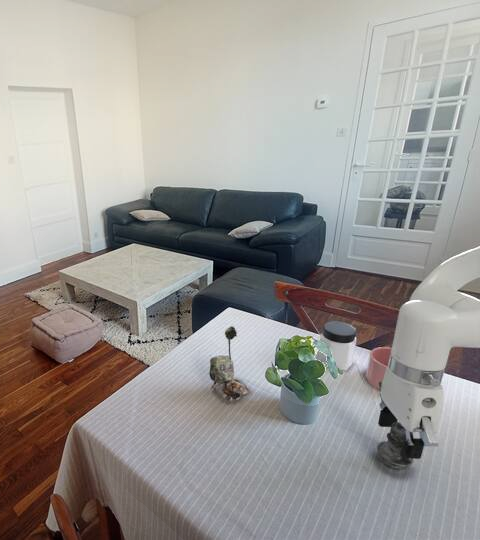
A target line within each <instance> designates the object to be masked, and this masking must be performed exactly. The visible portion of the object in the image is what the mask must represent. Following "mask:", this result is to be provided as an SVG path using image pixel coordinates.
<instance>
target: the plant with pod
mask: <svg viewBox="0 0 480 540" xmlns="http://www.w3.org/2000/svg"><path fill="white" fill-rule="evenodd" d="M237 332H238V331H237V330H236V328H235V326H233V325H231V326H229V327H228V328H226V329H225V331H224V335H225V338H226V339H227V340H228V355H217V356H213V357H211V355H209V357H211V358H210V359H209V364H210V365H209V372H208V374H209V378H210V380H211V381H213V384H212V385H211V388H210V392H209V395H212V393H213V391H214V390H219V387H221V388H220V390H221V394H222V395H223V398H224V400H226V401H227V402H233V401H239V400H240V399H241V398H242V396H245V394H247V393H248V394H249V389H248V388H247V385H245V384H243V383H241V382H240V380H239V379H234V378H235V367H234V366H235V365H234V360H233V358H232V356H231V341H232V340H234V338H237V337H238V335H237V334H238V333H237ZM217 384H218V385H217ZM216 385H217V386H216ZM222 387H223V388H222Z"/></svg>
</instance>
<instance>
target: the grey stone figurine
mask: <svg viewBox="0 0 480 540" xmlns="http://www.w3.org/2000/svg"><path fill="white" fill-rule="evenodd" d="M386 439H387V441H381V442H379V443H377V445H376V450H377V453H378V457H379V458H380V460H381V461H382V462H383V463H384V464H385V465H386V466H387V467H389V468H390V469H393V470H400V471H403V470H407V469H408V468H410V467H411V466H412V465H413V464H414V461H415V459H410V458H402V457H401V455H400V452H401V448H402V444H403V440H407V439H406V430H405V428H404V427H403V426H402V425H401V423H400V422H399V421H397V422H395V423H393V424H392V425H391V427H390V430H389V432H387V433H386Z"/></svg>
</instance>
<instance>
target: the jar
mask: <svg viewBox="0 0 480 540" xmlns="http://www.w3.org/2000/svg"><path fill="white" fill-rule="evenodd" d="M356 334H357V330H356V328H355V327H354V326H352V325H350V324H348V323H346V322H342V321H336V320H335V321H327V322H325V323H324V324H323V325H322V332H321V333H320V335H319V342H320V341H321V342H324V343H325V344H326V345H327V346H328V347H329V348H330V350H331V352H332V356H333V359H334V360H335V362H336V363H337V365H338V367H339V368H340V369H341V370H340V371H347V370H348V369H349V368H350V367H352V365H353V364H354V358H355V352H356V351H355V350H356V344H357V337H356ZM319 360H320V361H322V362H324V363H325V361H326V356H325V355H324V354H323V353H321V352H319V350H318V352H317V361H319ZM320 361H319V362H320ZM324 366H325V368H327V364H326V363H325V365H324Z"/></svg>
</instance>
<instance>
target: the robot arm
mask: <svg viewBox="0 0 480 540" xmlns="http://www.w3.org/2000/svg"><path fill="white" fill-rule="evenodd" d="M477 279H480V246H477V247H475V248H472V249H469V250H467V251H464V252H462V253H460V254H457V255H455V256H453V257H451V258H449V259H447V260H445V261H443V262H442V263H441V264H439V265H437V266H436V267H435V268H434V269H433V270H432V271H431V272H430V273H429V274H428V275H427V276H426V277H425V278H424V279H423V280H422V281H421V282H420V283H419V284H418V286H417V287H416V288H415V290H414V291H413V292H412V293H411V296H410V298H409V299H408V301H407V302H405V303H403V304H402V305H401V306H400V307H399V312H398V315H397V320H396V324H395V325H396V326H395V329H394V330H395V331H394V334H393V341H392V345H391V348H392V349H391V354H390V359H389V364H388V366H387V369H386V371H385V374H384V377H383V381H382V382H379V383H378V384H379V388H380V390H379V397H380V400H381V402H380V403H379V408H380V412H379V415H378V416H379V417H378V420H377V424H378V426H379V427H381V428H391V425H392V424H393V423H395V422H400V423H401V425H402V426H403V427H404V428H405V430H406V439H407V440H403V444H402V448H401V452H400V455H401V457H402V458H410V459H414V460H420V459H422V455H423V451H424V448H425V447H427V448H428V447H429V448H432V447H439V441H438V439H437V436H436V433H438V432H439V428H440V424H441V419H442V414H443V407H444V388H443V386H442V382H443V378H444V374H445V370H446V367H447V364H448V359H449V355H450V353H451V349H453V348H471V349H473V348H474V349H480V299H478V298H477V297H474V296H472V295H469V294H466V293H463V292H461V291H458V290H460V289H461V288H462V287H463V286H465V285H466V284H468V283H470V282H472V281H474V280H477ZM414 432H415V433H417V432H418V434H419V437H417V438H416V437H414Z"/></svg>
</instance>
